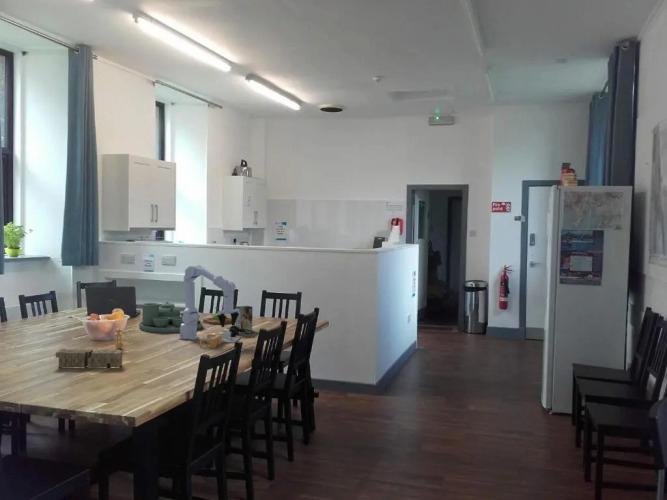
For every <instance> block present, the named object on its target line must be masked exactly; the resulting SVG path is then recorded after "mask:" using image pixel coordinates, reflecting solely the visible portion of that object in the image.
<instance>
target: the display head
mask: <svg viewBox="0 0 667 500" xmlns="http://www.w3.org/2000/svg"><path fill="white" fill-rule="evenodd" d="M222 330H223V331H222V332H212V333H211V334H213V335H221V344H223V343H224V344H226V343H227V344H235V343H236V342H238V341H239V340H240V339H241V337H239V336H235V337H231V332H229V328H224V329H222ZM212 337H214V336H209V339H211V338H212ZM237 340H238V341H237ZM203 342H205V343H207V341H204V340H203ZM234 342H235V343H234ZM209 343H210V341H209Z"/></svg>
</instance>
